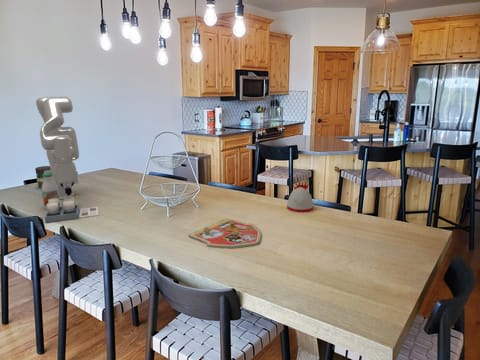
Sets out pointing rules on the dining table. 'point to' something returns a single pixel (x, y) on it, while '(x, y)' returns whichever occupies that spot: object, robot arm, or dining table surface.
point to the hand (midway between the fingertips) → (68, 195)
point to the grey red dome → (300, 199)
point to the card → (88, 212)
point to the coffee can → (41, 175)
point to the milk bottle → (48, 189)
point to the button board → (62, 215)
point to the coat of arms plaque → (228, 234)
